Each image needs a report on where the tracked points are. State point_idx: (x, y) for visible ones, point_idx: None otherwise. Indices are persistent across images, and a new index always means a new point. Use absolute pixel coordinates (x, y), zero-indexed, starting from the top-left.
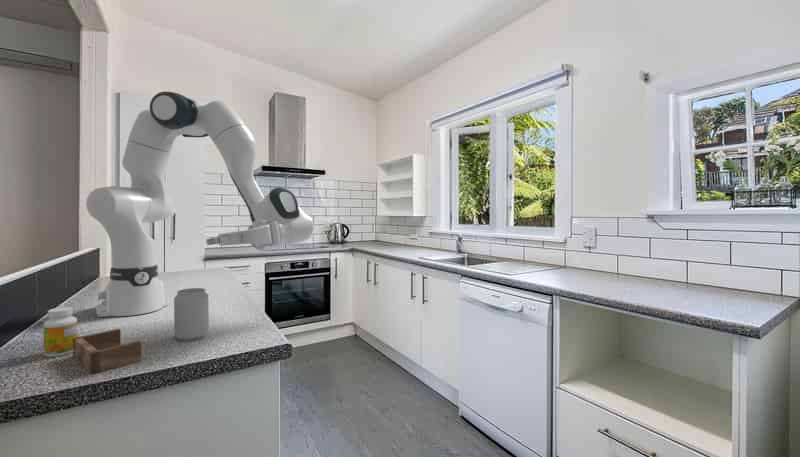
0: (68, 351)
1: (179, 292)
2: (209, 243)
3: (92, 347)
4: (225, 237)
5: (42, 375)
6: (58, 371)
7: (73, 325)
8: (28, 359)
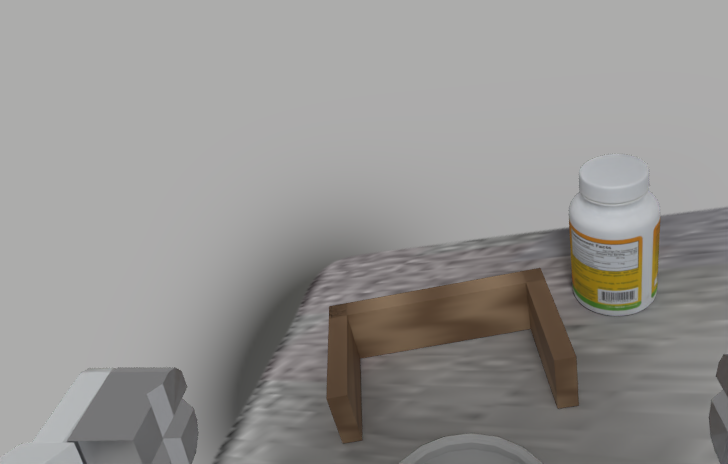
0: (578, 298)
1: (508, 456)
2: (712, 422)
3: (388, 305)
4: (69, 409)
5: (430, 280)
6: None
7: (588, 240)
8: None
